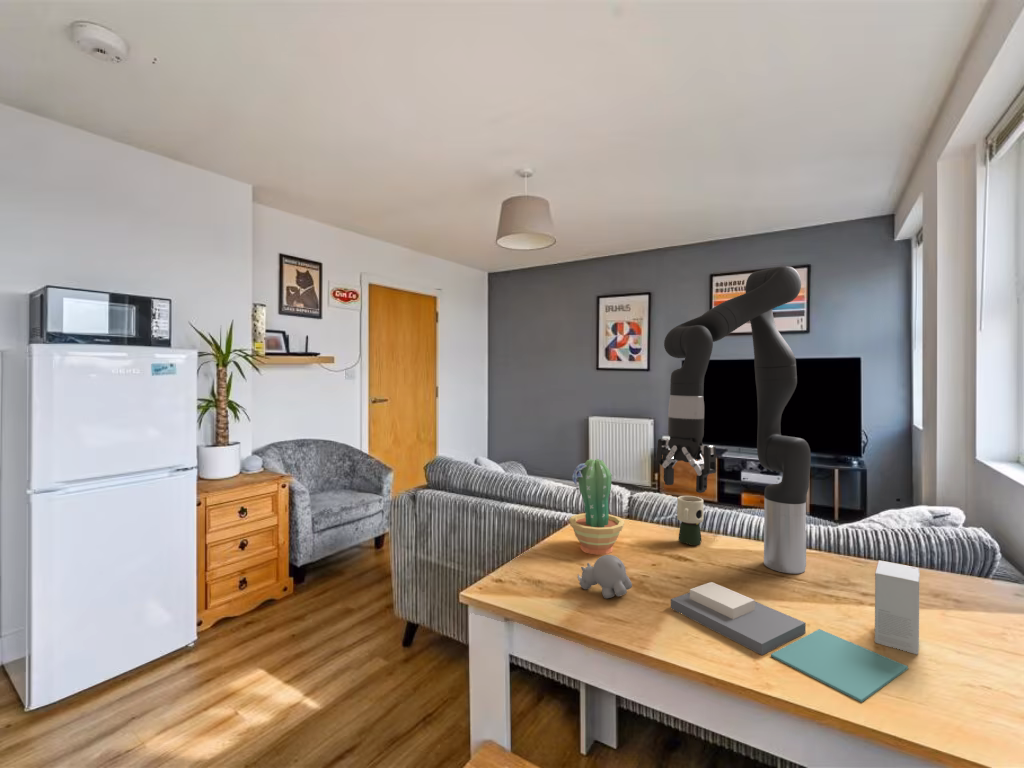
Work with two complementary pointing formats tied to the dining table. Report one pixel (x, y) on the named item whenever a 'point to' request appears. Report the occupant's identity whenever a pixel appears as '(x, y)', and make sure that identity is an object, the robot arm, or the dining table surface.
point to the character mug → (690, 519)
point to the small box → (897, 606)
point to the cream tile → (722, 600)
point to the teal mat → (840, 664)
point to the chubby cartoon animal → (606, 576)
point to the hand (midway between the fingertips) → (684, 488)
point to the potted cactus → (595, 509)
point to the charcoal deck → (745, 624)
